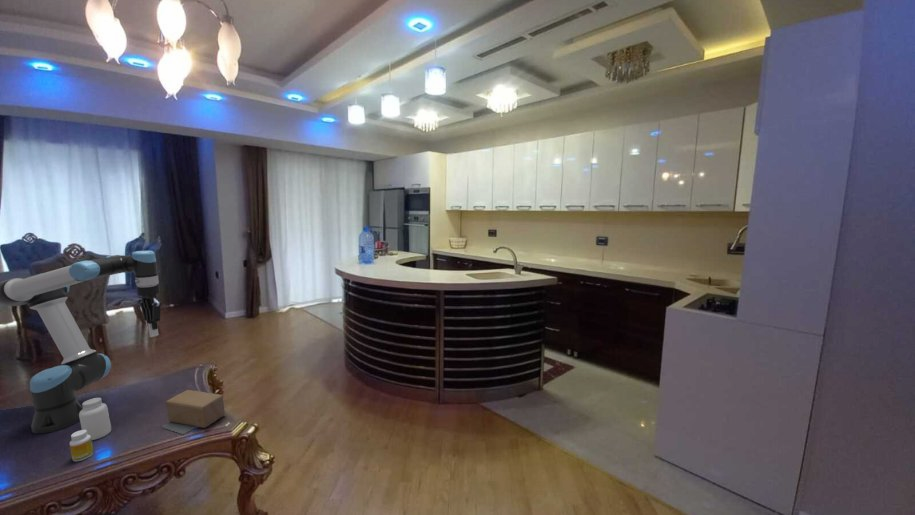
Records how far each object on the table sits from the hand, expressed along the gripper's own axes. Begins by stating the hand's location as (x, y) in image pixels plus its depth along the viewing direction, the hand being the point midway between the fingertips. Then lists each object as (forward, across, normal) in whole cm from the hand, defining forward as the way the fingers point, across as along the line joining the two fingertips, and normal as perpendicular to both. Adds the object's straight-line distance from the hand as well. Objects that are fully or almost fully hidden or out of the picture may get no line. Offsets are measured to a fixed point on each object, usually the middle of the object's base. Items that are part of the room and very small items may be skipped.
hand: (154, 335), depth 157 cm
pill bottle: (+34, +1, -23) cm, 41 cm away
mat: (+34, +26, -3) cm, 43 cm away
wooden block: (+28, +17, -3) cm, 33 cm away
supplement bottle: (+34, +12, -32) cm, 48 cm away
